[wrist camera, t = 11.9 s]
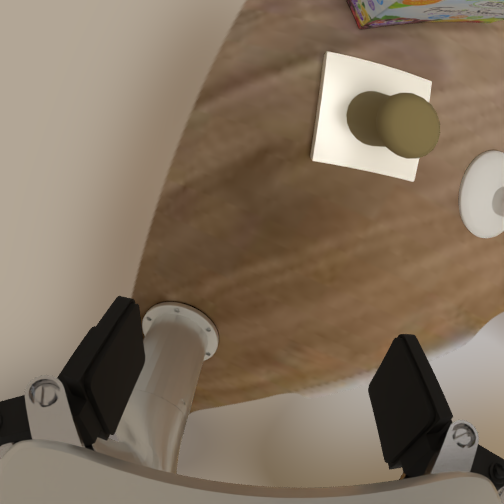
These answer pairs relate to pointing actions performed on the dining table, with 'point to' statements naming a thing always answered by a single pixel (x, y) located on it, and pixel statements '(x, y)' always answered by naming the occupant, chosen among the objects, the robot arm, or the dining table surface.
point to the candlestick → (483, 195)
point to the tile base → (335, 109)
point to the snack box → (424, 11)
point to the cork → (394, 123)
